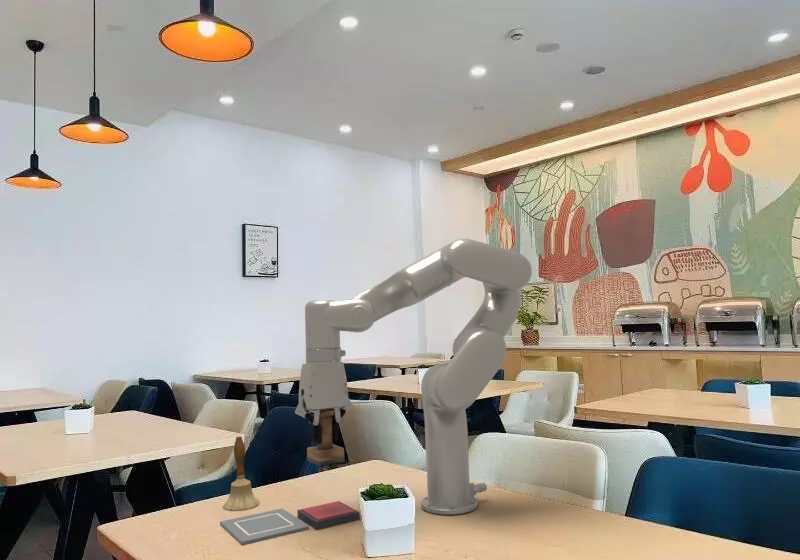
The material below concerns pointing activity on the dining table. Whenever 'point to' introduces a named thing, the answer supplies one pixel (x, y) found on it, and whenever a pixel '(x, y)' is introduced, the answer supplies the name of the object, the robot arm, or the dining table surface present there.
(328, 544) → the dining table surface
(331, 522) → the ink pad
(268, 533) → the board
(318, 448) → the stamp
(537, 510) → the dining table surface
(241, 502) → the hand bell
